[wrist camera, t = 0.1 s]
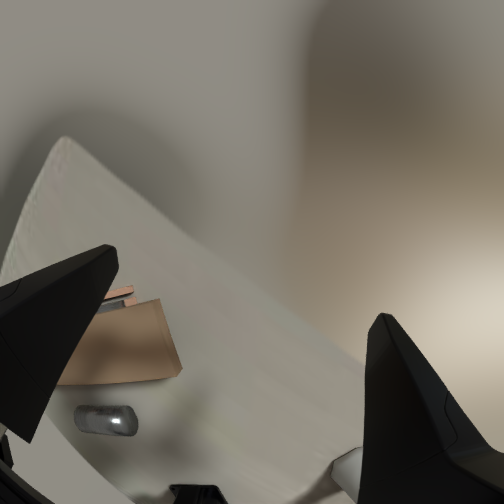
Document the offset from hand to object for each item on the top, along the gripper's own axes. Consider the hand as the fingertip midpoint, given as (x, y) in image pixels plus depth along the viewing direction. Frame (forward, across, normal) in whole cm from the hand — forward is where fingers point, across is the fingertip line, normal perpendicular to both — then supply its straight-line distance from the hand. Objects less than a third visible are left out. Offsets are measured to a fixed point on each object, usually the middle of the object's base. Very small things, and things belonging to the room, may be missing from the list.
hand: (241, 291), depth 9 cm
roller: (+2, +12, +26) cm, 29 cm away
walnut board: (+4, +13, +16) cm, 21 cm away
